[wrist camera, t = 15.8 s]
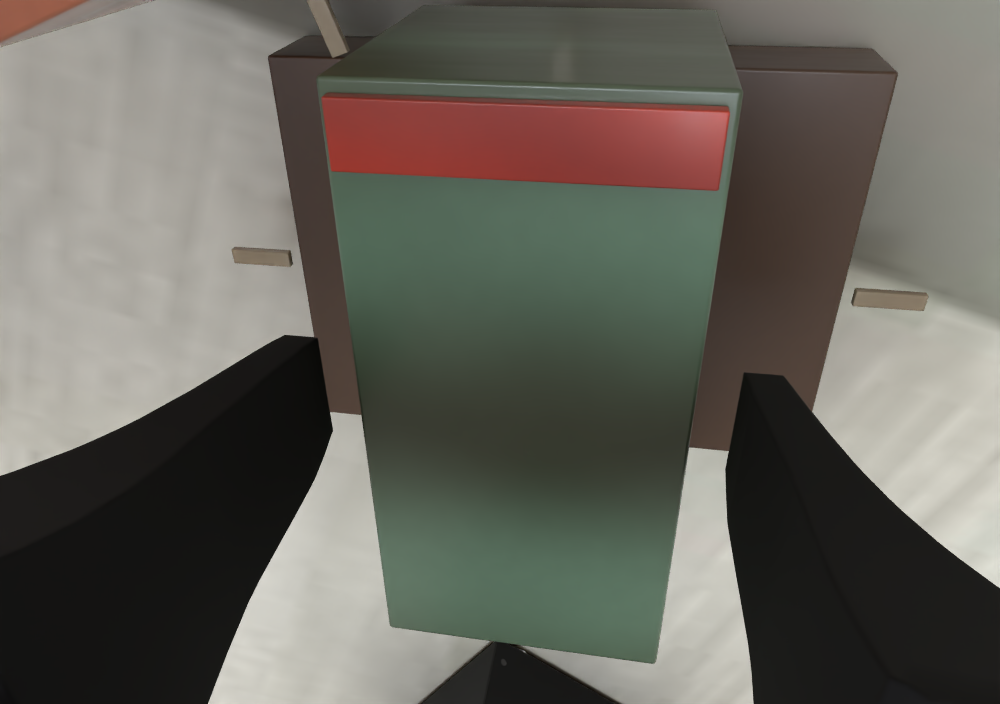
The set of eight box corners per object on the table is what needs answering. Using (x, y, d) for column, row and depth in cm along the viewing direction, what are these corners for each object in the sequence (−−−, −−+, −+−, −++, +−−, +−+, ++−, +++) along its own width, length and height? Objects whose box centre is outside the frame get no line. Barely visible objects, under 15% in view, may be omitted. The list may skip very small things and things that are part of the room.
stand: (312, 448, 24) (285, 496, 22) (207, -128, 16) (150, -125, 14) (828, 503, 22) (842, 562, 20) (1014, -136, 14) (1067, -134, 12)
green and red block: (657, 477, 20) (655, 676, 15) (449, 455, 21) (385, 637, 16) (718, 9, 14) (745, 95, 9) (421, 4, 15) (306, 80, 10)
